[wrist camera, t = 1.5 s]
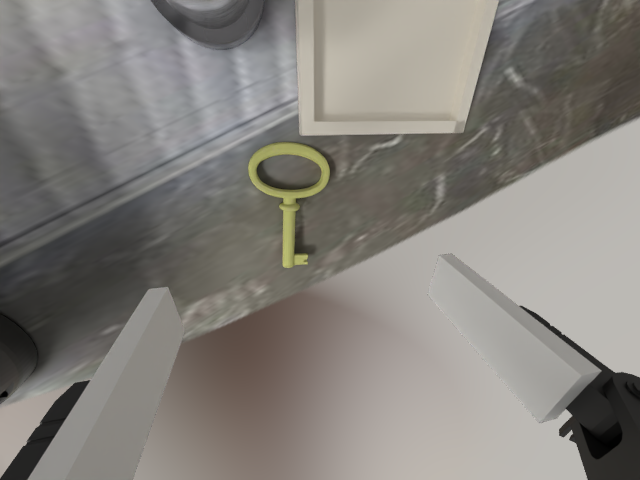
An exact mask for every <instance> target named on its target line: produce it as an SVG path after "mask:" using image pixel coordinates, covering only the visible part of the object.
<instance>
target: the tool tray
mask: <svg viewBox="0 0 640 480" xmlns="http://www.w3.org/2000/svg"><path fill="white" fill-rule="evenodd" d="M498 2H499V0H295V19H296V48H297V78H298V107H299V134H300V135H302V136H308V135H366V134H424V133H463V131H464V128H465V124H466V120H467V117H468V113H469V109H470V105H471V102H472V98H473V94H474V91H475V87H476V83H477V80H478V76H479V72H480V68H481V65H482V61H483V57H484V54H485V50H486V46H487V43H488V39H489V35H490V32H491V28H492V24H493V20H494V17H495V13H496V9H497V6H498Z"/></svg>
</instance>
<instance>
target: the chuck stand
mask: <svg viewBox="0 0 640 480" xmlns="http://www.w3.org/2000/svg"><path fill="white" fill-rule="evenodd" d="M151 1H152V3H153V4H154V5H155V7H156V8H157V9H158V11H159V12H160V13H161V14H162V15H163V16H164V17H165V18H166V19H167V20H168V21H169V22H170V23H171V24H172V25H173V26H174V27H175V28H176V29H177V30H179V31H180V32H181V33H182V34H183V35H184V36H186V37H187V38H188V39H190V40H191V41H193V42H195V43H197V44H199V45H201V46H204V47H207V48H210V49H216V50H226V49H231V48H234V47H237V46H239V45H241V44H242V43H244V42H245V41H246V40H247V39H249V37H250V36H251V35H252V34H253V33H254V31H255V29H256V28H257V26H258V24H259V21H260V19H261V15H262V12H263V6H264V0H151Z"/></svg>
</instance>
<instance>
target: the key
mask: <svg viewBox="0 0 640 480" xmlns="http://www.w3.org/2000/svg"><path fill="white" fill-rule="evenodd" d="M283 154H291V155H298V156H302V157H306V158H308V159H310V160H312V161H314V162H315V163H317V164H318V165H319V166H320V168H321V170H322V174H321V178H320V180H319V181H318V182H317V183H316V184H315V185H313V186H311V187H308V188H305V189H298V190H284V189H278V188H274V187H271V186H269V185H267V184H265V183H263V182H262V181H261V180H260V179H259V177H258V175H257V167H258V165H259V163H260V162H261V161H263V160H265V159H267V158H270V157H272V156H276V155H283ZM248 171H249V177H250V179H251V181H252V183H253V184H254V185H255V186H256V187H257V188H258V189H259V190H261V191H263V192H264V193H266V194H268V195H271V196H275V197H281V198H283V203H281V204H280V205H279V208H280V209H281V210H283V266H284V267H286V268H291V267H293V266H294V265H301V264H308V262H307V260H306V259H308V254H307V253H302V254H294V245H295V215H296V211H297V210H299V208H300V205H299V204H297V203H296V198H303V197H308V196H312V195H314V194H316V193H318V192H320V191H321V190H322V189H323V188H324V187H325V186H326V184H327V182H328V180H329V175H330V169H329V166H328V163H327V161H326V159H325V157H324V156H323V155H322V154H321V153H319V152H318V151H317V150H315V149H313V148H312V147H310V146H307V145H304V144H299V143H293V142H279V143H273V144H269V145H267V146H264V147H263V148H261V149H259V150H258V151H257V152H255V153H254V154H253V156H252V157H251V159H250V161H249V165H248Z"/></svg>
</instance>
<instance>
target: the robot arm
mask: <svg viewBox="0 0 640 480" xmlns="http://www.w3.org/2000/svg"><path fill="white" fill-rule="evenodd" d="M428 296H429V297H430V298H431V299H432V301H433V302H434V303H435V304H436V305H437V306H438V308H439V309H440V310H441V311H442V312H443V313H444V314H445V316H446V317H447V318H448V319H449V320H450V321H451V322H452V324H453V325H454V326H455V327H456V328H457V329H458V331H459V332H460V333H461V334H462V335H463V336H464V338H465V339H466V340H467V341H468V342H469V343H470V344H471V346H472V347H473V348H474V349H475V350H476V351H477V352H478V354H479V355H480V356H481V357H482V358H483V359H484V361H485V362H486V363H487V364H488V365H489V366H490V367H491V369H492V370H493V371H494V372H495V373H496V374H497V375H498V376H499V378H500V379H501V380H502V381H503V382H504V383H505V385H506V386H507V387H508V388H509V389H510V390H511V392H512V393H513V394H514V395H515V396H516V397H517V399H518V400H519V401H520V402H521V403H522V404H523V405H524V407H525V408H526V409H527V410H528V411H529V412H530V413H531V414H532V416H533V417H534V418H535V419H536V420H537V422H539V423H541V422H545V421H549V420H552V419H556V418H557V417H559V415H560V414H561V413H562V412H563V411H564V410H565V409H567V410H568V411H569V412H570V413H571V414H572V415H573V416H572V417H571V418H570V419H569V420H568V421H567V422H566V423H565V424H564V425H563V426H562V427H561V428H560V429H559V436H562V437H565V436H566V435H567V434H568V433H569V432H570V431H571V430H572V431H573V434H572V435H571V437H570V439H569V440H570V441H573V442H575V443H576V444H577V447H578V450H579V453H580V456H581V460H582V462H583V466H584V469H585V472H586V475H587V478H588V480H640V378H639V377H637V376H634V375H632V374H628V373H623V372H621V373H615V372H613V371H612V370H610V369H609V368H608V367H606V366H605V365H603V364H602V363H601V362H599V361H598V360H597V359H595V358H594V357H593V356H592V355H590V354H589V353H588V352H586V351H585V350H584V349H582V348H581V347H580V346H578V345H577V344H576V343H574V342H573V341H572V340H570V339H569V338H568V337H566V336H565V335H562V334H561V332H560V331H559V330H557V329H556V328H555V327H553V326H550V324H549V323H548V322H547V321H546V320H544V319H543V318H541V317H540V316H539V315H537V314H536V313H534V312H532V311H530V310H528V309H527V308H525V307H523V306H518V305H517V304H516V303H514V302H513V301H512V300H510V299H509V298H508V297H507V296H505V295H504V294H503V293H501V292H500V291H499V290H498V289H496V288H495V287H494V286H493V285H491V284H490V283H489V282H487V281H486V280H485V279H483V278H482V277H481V276H480V275H479V274H477V273H476V272H475V271H473V270H472V269H471V268H470V267H468V266H467V265H466V264H464V263H463V262H462V261H461V260H459V259H458V258H457V257H455V256H454V255H453V254H444V255H439V257H438V260H437V264H436V267H435V271H434V274H433V278H432V281H431V284H430V288H429V291H428ZM184 333H185V329H184V326H183V324H182V321H181V319H180V316H179V314H178V311H177V308H176V306H175V303H174V301H173V298H172V296H171V293H170V291H169V288H168V287H162V288H153V289H148V291H147V292H146V294H145V295H144V297H143V298H142V300H141V302H140V303H139V305H138V306H137V308H136V309H135V311H134V313H133V314H132V316H131V317H130V319H129V320H128V322H127V324H126V325H125V327H124V328H123V330H122V331H121V333H120V335H119V336H118V338H117V339H116V341H115V343H114V344H113V346H112V347H111V349H110V350H109V352H108V354H107V355H106V357H105V358H104V360H103V361H102V363H101V365H100V366H99V368H98V369H97V371H96V372H95V374H94V376H93V377H92V379H91V380H89V381H83V382H77V383H74V384H73V385H72V386H71V387H70V388H69V389H68V390H67V391H66V392H65V393H64V394H63V395H61V396H60V397H59V398H58V399H57V400H56V401H55V402H54V404H53V405H52V407H51V408H50V409H49V411H48V412H47V414H46V415H45V416H44V418H43V419H42V421H41V422H40V426H39V427H37V428H36V429H35V430H34V432H33V433H32V435H31V436H30V437H29V439H28V440H27V444H26V445H25V446H23V447H22V449H21V450H20V452H19V453H18V454H17V456H16V457H15V459H14V460H13V461H12V463H11V464H10V466H9V467H8V468H7V470H6V471H5V473H4V474H3V476H2V477H1V478H0V480H133V477H134V475H135V472H136V469H137V466H138V463H139V461H140V457H141V454H142V452H143V449H144V446H145V443H146V441H147V438H148V435H149V432H150V429H151V427H152V423H153V421H154V418H155V415H156V412H157V409H158V407H159V404H160V401H161V398H162V395H163V392H164V390H165V387H166V384H167V381H168V378H169V375H170V372H171V370H172V367H173V364H174V361H175V358H176V356H177V352H178V350H179V347H180V344H181V341H182V339H183V336H184ZM36 364H37V351H36V348H35V345H34V343H33V342H32V340H31V339H30V337H29V336H28V335H27V334H26V333H25V332H24V331H23V330H22V329H21V328H20V327H19V326H17V325H16V324H15V323H13V322H12V321H11V320H9V319H7V318H6V317H4V316H3V315H1V314H0V404H1V403H2V402H4V401H5V400H6V399H8V398H9V397H10V396H11V395H12V394H13V393H14V392H15V391H16V390H17V389H18V388H19V387H20V386H21V385H22V383H23V382H24V381H25V380H26V379H27V378H28V376H29V375H30V374H31V373H32V372H33V370H34V368H35V366H36Z"/></svg>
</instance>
